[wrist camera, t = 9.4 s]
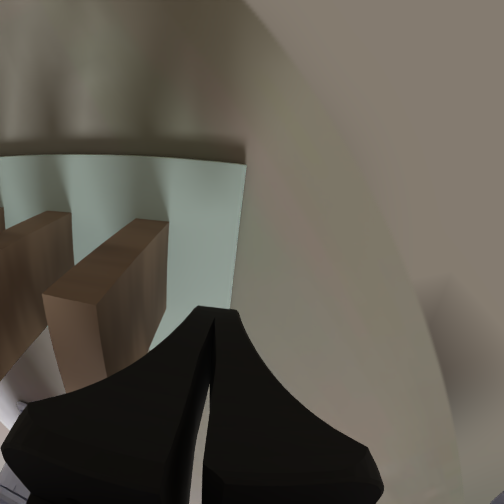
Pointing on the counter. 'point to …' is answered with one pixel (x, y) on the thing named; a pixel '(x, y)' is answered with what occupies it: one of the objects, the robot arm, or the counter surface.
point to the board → (140, 213)
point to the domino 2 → (109, 304)
